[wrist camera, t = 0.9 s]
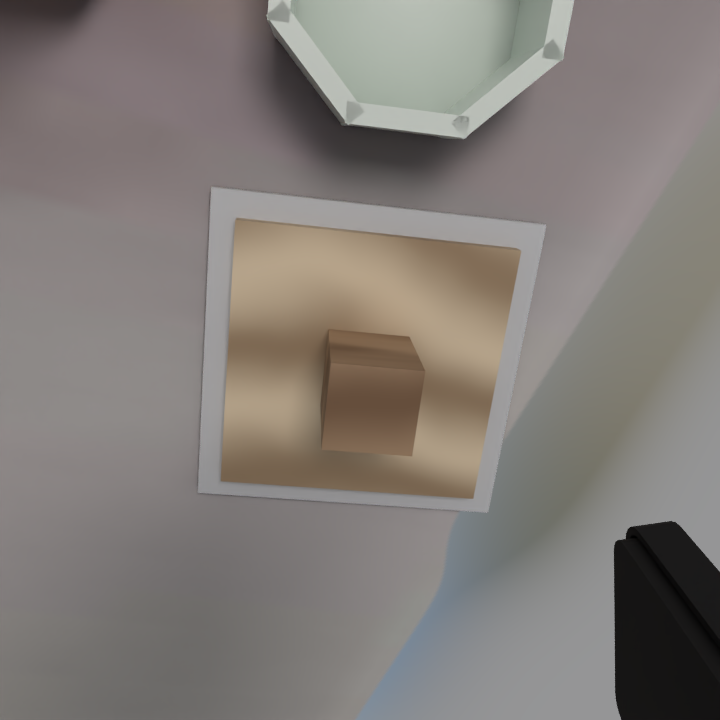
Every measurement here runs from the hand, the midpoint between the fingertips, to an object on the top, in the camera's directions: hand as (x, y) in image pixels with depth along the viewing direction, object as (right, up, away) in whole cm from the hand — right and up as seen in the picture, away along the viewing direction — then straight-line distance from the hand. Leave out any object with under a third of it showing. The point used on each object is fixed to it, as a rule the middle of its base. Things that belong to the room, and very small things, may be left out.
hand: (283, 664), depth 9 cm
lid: (+1, +4, +25) cm, 25 cm away
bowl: (+3, +20, +20) cm, 29 cm away
